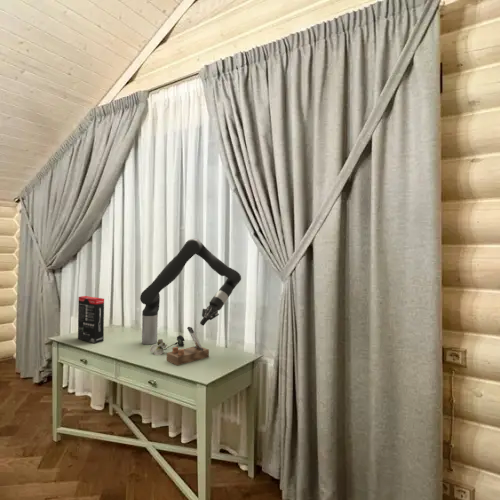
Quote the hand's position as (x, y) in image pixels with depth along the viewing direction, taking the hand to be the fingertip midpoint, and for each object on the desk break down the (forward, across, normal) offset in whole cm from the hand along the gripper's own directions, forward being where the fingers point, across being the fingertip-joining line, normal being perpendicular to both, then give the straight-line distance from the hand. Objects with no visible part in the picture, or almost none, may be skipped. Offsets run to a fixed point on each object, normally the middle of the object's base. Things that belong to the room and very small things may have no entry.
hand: (201, 324), depth 185 cm
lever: (+8, 0, +1) cm, 9 cm away
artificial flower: (+18, -20, +7) cm, 28 cm away
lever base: (+18, 0, +6) cm, 19 cm away
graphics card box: (+36, -69, -12) cm, 79 cm away
